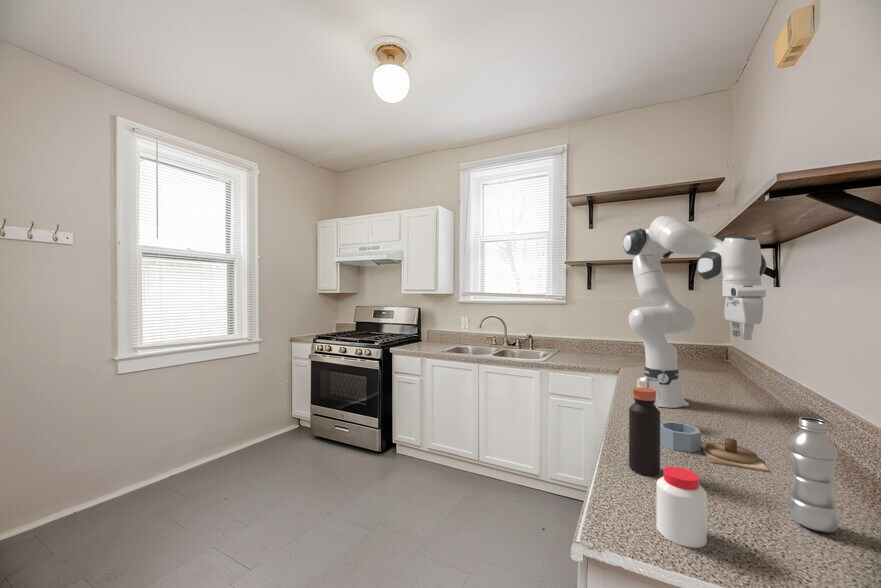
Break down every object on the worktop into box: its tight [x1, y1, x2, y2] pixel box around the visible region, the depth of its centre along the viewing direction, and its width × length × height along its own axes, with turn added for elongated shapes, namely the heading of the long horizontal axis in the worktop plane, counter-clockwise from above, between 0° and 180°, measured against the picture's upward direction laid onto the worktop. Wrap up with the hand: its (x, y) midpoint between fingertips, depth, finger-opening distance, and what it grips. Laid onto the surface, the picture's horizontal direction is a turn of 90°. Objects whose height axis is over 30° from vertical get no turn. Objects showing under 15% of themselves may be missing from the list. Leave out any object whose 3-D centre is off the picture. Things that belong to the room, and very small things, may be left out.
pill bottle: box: [655, 465, 708, 549], centre depth 67 cm, size 8×8×11 cm
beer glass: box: [636, 376, 660, 410], centre depth 125 cm, size 7×7×15 cm
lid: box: [706, 437, 759, 464], centre depth 100 cm, size 11×11×4 cm
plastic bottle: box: [787, 416, 840, 534], centre depth 69 cm, size 6×7×20 cm
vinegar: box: [628, 386, 661, 477], centre depth 92 cm, size 7×7×20 cm
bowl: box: [660, 421, 702, 453], centre depth 107 cm, size 10×10×5 cm
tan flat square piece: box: [701, 441, 771, 473], centre depth 100 cm, size 14×12×1 cm
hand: (741, 338), depth 107 cm, fingers open, 8 cm apart
